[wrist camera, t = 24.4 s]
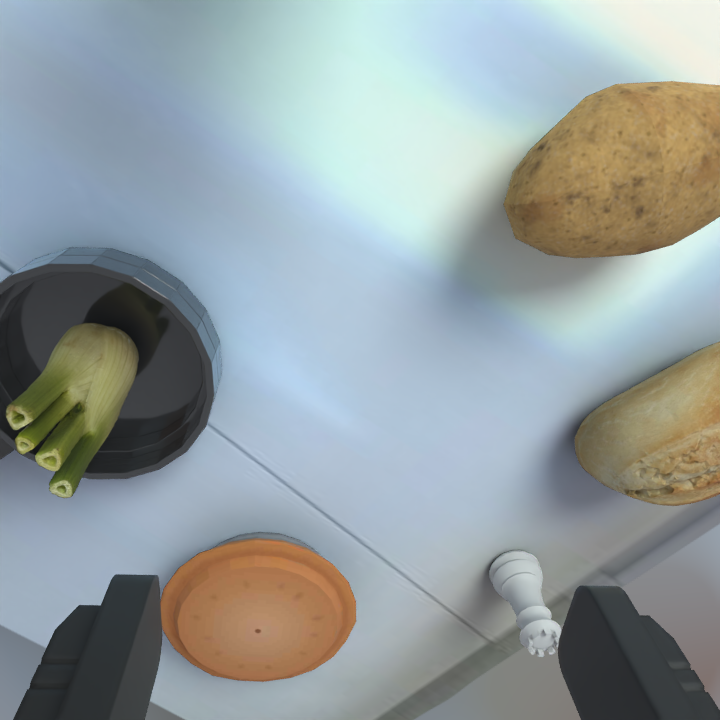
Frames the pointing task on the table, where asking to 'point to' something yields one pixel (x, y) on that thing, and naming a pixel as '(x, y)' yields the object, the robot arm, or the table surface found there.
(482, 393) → the table surface
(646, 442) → the bread roll
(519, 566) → the rook chess piece
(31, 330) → the pan
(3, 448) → the pan handle
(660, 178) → the potato
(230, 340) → the table surface
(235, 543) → the pie
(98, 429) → the fennel bulb
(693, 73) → the table surface
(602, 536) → the table surface
